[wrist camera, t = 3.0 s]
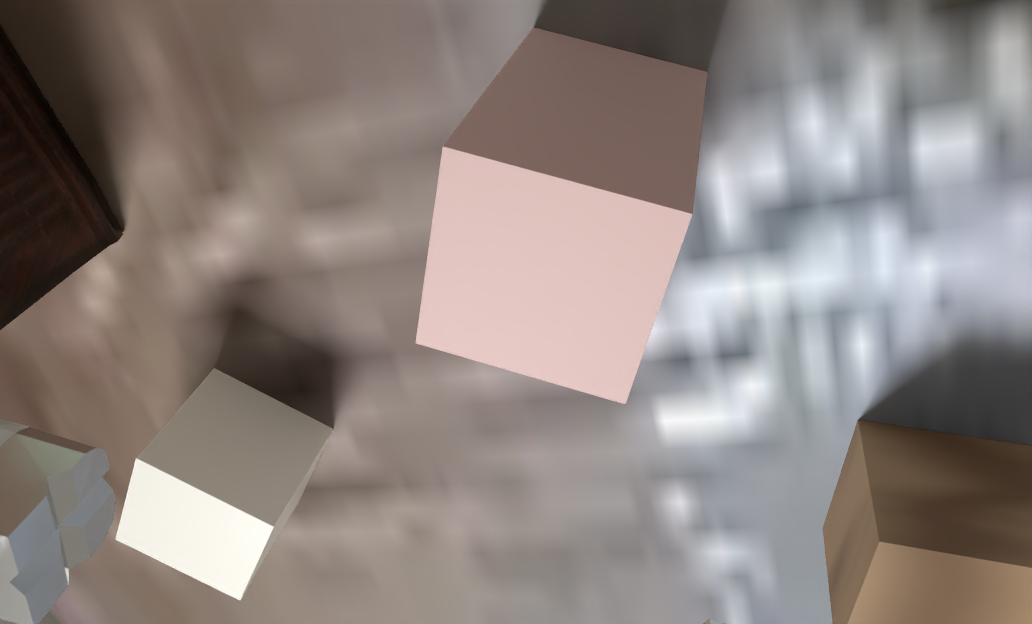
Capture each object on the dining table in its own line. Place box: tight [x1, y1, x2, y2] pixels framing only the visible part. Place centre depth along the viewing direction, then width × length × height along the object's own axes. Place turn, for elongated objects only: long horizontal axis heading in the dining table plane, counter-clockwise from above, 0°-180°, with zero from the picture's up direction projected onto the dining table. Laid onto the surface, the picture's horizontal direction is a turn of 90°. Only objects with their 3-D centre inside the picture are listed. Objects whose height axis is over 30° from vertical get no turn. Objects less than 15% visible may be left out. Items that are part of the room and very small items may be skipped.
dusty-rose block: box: [416, 27, 707, 404], centre depth 19 cm, size 5×5×8 cm
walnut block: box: [823, 420, 1032, 624], centre depth 25 cm, size 5×5×5 cm
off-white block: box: [116, 368, 333, 600], centre depth 31 cm, size 5×5×5 cm
